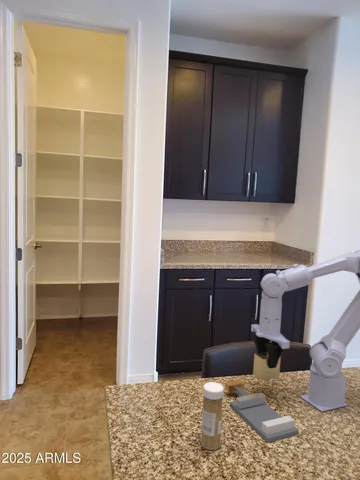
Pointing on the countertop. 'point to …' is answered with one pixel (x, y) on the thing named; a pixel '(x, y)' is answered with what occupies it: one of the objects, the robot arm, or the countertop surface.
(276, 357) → the robot arm
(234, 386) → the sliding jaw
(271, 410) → the vise base
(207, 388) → the sprinkles bottle
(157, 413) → the countertop surface
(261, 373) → the brass block
